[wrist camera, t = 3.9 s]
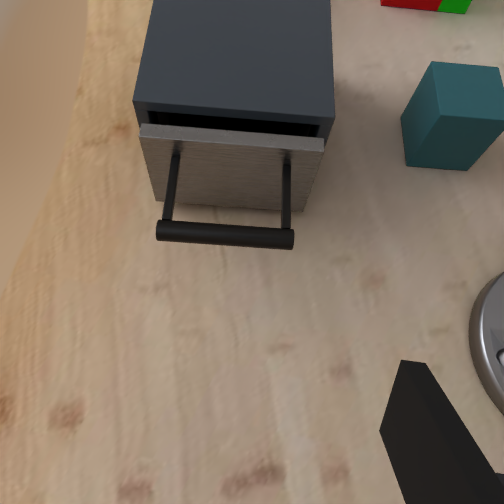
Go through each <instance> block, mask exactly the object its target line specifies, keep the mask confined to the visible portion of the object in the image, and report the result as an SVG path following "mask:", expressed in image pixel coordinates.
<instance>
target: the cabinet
mask: <svg viewBox="0 0 504 504" xmlns="http://www.w3.org/2000/svg"><path fill="white" fill-rule="evenodd" d="M132 101H133V105H134V109H135V112H136V116H137V120H138V124H139V128H141V123H147V124H159V120H158V115H157V111H158V112H170V113H182V114H194V115H206V116H218V117H230V118H242V119H254V120H266V121H278V122H290V123H302V124H311V127H310V130H309V134H308V137H318V138H324V148H325V145H326V142H327V139H328V136H329V134H330V131H331V128H332V125H333V122H334V120H335V100H334V77H333V53H332V30H331V7H330V0H154V1H153V6H152V10H151V15H150V20H149V25H148V29H147V34H146V39H145V43H144V48H143V53H142V58H141V62H140V67H139V72H138V76H137V81H136V86H135V91H134V95H133V100H132Z"/></svg>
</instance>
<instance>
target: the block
mask: <svg viewBox="0 0 504 504" xmlns="http://www.w3.org/2000/svg"><path fill="white" fill-rule="evenodd" d="M401 125H402V133H403V141H404V149H405V158H406V165H407V166H414V167H427V168H439V169H452V170H464V171H467V170H468V169H469V168H470V167H471V166H472V165H473V164H474V163H475V162H476V161H477V160H478V158H479V157H480V156H481V155H482V154H483V153H484V152H485V151H486V150H487V148H488V147H489V146H490V145H491V144H492V143H493V142H494V141H495V140H496V139H497V137H498V136H499V135H500V134H501V133H502V132H503V131H504V87H503V83H502V79H501V75H500V72H499V68H498V67H489V66H478V65H467V64H456V63H445V62H434V61H432V62H431V63H430V65H429V67H428V68H427V70H426V72H425V74H424V76H423V77H422V79H421V81H420V83H419V85H418V87H417V88H416V90H415V92H414V94H413V96H412V97H411V99H410V101H409V103H408V105H407V106H406V108H405V110H404V112H403V114H402V116H401Z"/></svg>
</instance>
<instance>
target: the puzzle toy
mask: <svg viewBox="0 0 504 504" xmlns="http://www.w3.org/2000/svg"><path fill="white" fill-rule="evenodd" d="M471 1H472V0H381V6H391V7H401V8H410V9H420V10H430V11H440V12H450V13H460V14H465V12H466V10H467V9H468V7H469V5H470V3H471Z"/></svg>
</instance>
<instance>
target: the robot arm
mask: <svg viewBox="0 0 504 504" xmlns="http://www.w3.org/2000/svg"><path fill="white" fill-rule="evenodd" d="M469 343H470V350H471V355H472V359H473V362H474V366H475V368H476V371H477V374H478V376H479V378H480V380H481V383H482V385H483V386H484V388H485V390H486V392H487V393H488V395H489V397H490V398H491V399H492V401H493V402H494V404H495V405H496V406H497V408H498V409H499V410H500V411H501V413H502V414H503V415H504V272H502V273H501V274H499V275H497V276H496V277H495V278H493V279H492V280H491V281H490V282H489V283H487V284H486V286H485V287H484V288H483V289H482V290H481V292H480V294H479V295H478V297H477V299H476V301H475V303H474V306H473V309H472V312H471V316H470V323H469ZM379 431H380V434H381V437H382V440H383V442H384V445H385V448H386V451H387V453H388V456H389V459H390V462H391V464H392V467H393V470H394V473H395V475H396V478H397V481H398V484H399V486H400V489H401V492H402V495H403V497H404V500H405V503H406V504H504V474H500V473H495V472H494V470H493V469H492V467H491V466H490V464H489V462H488V461H487V459H486V458H485V456H484V455H483V453H482V451H481V450H480V448H479V447H478V445H477V444H476V442H475V440H474V439H473V437H472V436H471V434H470V433H469V431H468V429H467V428H466V426H465V425H464V423H463V422H462V420H461V418H460V417H459V415H458V414H457V412H456V411H455V409H454V407H453V406H452V404H451V403H450V401H449V400H448V398H447V396H446V395H445V393H444V392H443V390H442V388H441V387H440V385H439V384H438V382H437V381H436V379H435V377H434V376H433V374H432V373H431V371H430V370H429V368H428V366H427V365H426V363H421V362H414V361H407V360H401V362H400V365H399V368H398V371H397V375H396V378H395V381H394V384H393V388H392V391H391V394H390V398H389V401H388V404H387V407H386V411H385V414H384V417H383V420H382V424H381V427H380V430H379Z"/></svg>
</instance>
